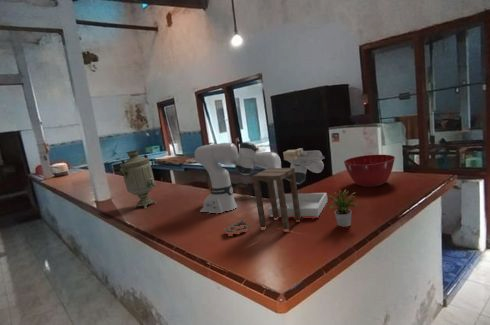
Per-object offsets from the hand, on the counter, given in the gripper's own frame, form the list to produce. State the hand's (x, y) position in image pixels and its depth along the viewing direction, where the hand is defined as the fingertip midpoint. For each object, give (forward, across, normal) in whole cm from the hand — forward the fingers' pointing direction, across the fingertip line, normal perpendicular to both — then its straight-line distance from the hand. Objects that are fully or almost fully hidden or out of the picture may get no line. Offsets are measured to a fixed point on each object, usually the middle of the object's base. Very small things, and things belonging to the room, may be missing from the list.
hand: (296, 151), depth 158 cm
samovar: (-1, +113, -35) cm, 118 cm away
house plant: (+2, -27, -36) cm, 45 cm away
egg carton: (+17, +18, -45) cm, 51 cm away
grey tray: (-12, +1, -28) cm, 30 cm away
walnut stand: (+7, 0, -39) cm, 40 cm away
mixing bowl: (-54, -24, -4) cm, 59 cm away
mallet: (+1, 0, -3) cm, 3 cm away
